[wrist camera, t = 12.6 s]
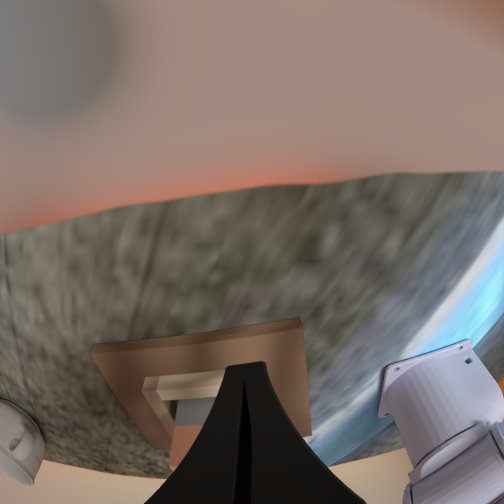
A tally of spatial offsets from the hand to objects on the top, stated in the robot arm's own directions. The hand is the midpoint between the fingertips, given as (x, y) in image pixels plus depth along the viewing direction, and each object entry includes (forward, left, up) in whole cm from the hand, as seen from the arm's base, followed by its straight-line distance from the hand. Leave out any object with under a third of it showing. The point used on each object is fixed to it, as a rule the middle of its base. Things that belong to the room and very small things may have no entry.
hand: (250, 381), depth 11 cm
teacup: (+31, +16, -10) cm, 36 cm away
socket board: (+5, +12, -10) cm, 16 cm away
